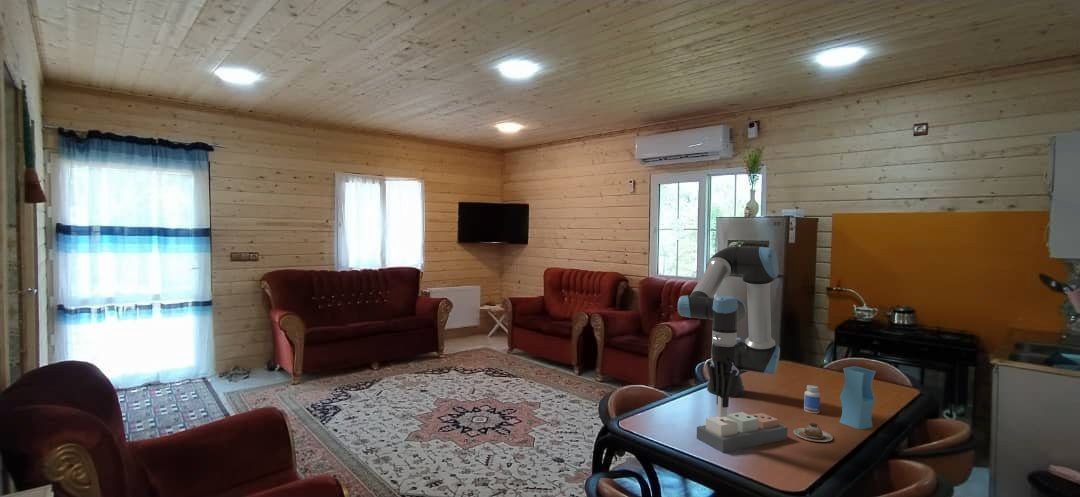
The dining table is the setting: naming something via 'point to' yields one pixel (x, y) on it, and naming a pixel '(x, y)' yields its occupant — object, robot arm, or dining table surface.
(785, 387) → the dining table surface
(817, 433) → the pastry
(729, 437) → the keypad
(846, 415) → the vase
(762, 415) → the key
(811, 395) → the pill bottle
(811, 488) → the dining table surface
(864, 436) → the dining table surface
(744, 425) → the key
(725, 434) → the key
